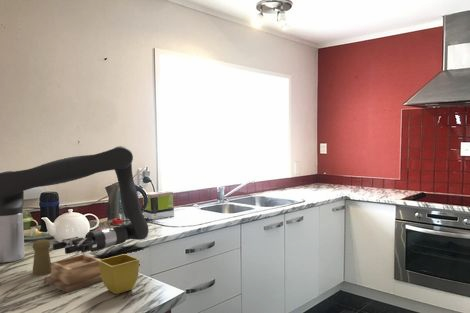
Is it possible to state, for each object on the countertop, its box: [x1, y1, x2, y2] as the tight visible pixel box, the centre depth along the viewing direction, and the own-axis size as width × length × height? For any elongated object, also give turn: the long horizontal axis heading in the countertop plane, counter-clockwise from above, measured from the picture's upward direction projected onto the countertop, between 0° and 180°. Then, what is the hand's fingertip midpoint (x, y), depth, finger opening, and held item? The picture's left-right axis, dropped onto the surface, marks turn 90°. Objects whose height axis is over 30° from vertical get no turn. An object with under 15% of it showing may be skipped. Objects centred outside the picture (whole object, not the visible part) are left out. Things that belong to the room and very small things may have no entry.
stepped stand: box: [43, 253, 103, 294], centre depth 116 cm, size 14×14×6 cm
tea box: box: [142, 190, 175, 220], centre depth 217 cm, size 15×10×15 cm
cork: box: [32, 238, 52, 277], centre depth 124 cm, size 6×6×11 cm
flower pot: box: [98, 253, 140, 295], centre depth 107 cm, size 9×9×9 cm
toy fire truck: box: [96, 217, 123, 230], centre depth 167 cm, size 3×14×10 cm, turn 65°
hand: (59, 249), depth 128 cm, fingers open, 8 cm apart
